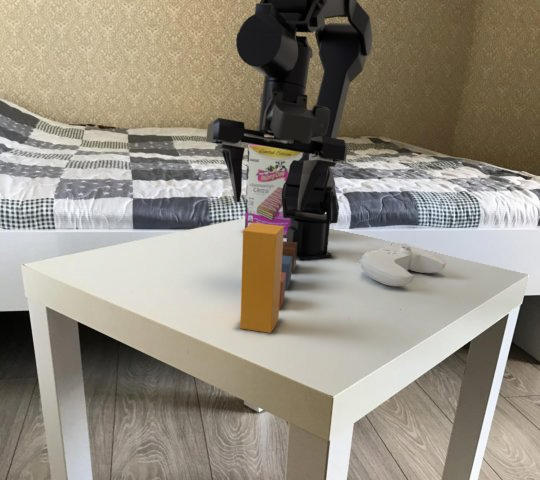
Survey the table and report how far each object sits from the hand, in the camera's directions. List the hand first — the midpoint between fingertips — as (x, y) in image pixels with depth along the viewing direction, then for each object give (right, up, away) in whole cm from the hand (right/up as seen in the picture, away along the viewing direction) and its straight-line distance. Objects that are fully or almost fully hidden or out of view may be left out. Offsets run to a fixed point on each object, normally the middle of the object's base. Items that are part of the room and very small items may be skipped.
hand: (269, 206), depth 81 cm
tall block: (-1, -17, -7) cm, 19 cm away
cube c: (0, -14, 0) cm, 14 cm away
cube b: (+1, -10, +6) cm, 12 cm away
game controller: (+21, -8, +13) cm, 26 cm away
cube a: (+2, -7, +13) cm, 15 cm away
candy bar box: (+1, +3, +33) cm, 33 cm away
